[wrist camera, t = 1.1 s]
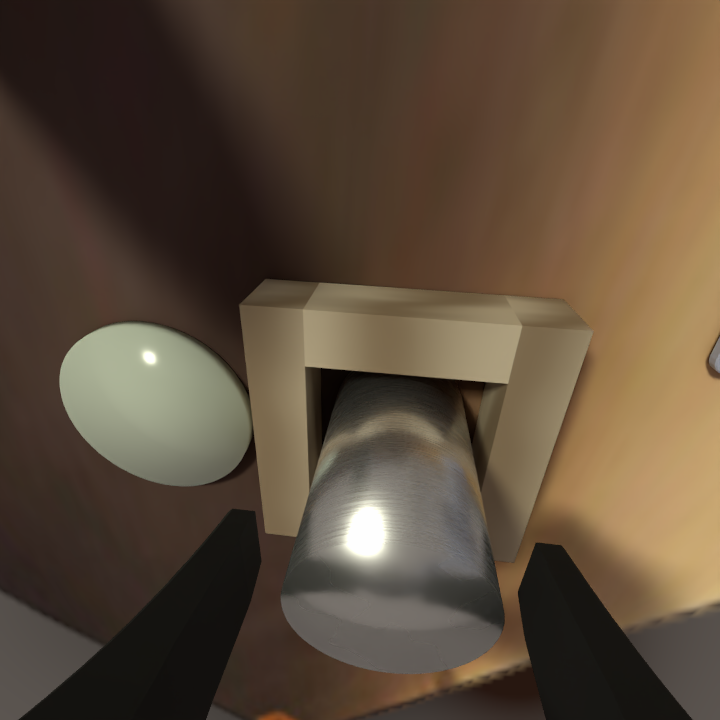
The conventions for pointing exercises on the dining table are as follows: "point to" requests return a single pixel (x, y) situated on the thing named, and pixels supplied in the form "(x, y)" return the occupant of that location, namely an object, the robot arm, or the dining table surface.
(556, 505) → the dining table surface
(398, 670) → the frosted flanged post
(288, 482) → the collar
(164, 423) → the coaster
